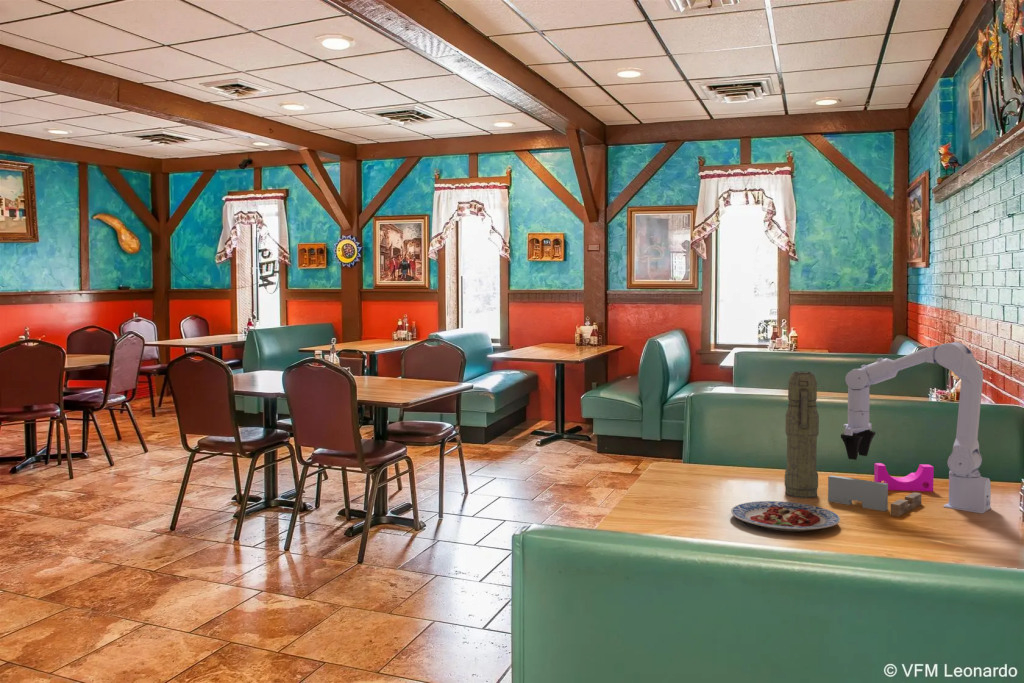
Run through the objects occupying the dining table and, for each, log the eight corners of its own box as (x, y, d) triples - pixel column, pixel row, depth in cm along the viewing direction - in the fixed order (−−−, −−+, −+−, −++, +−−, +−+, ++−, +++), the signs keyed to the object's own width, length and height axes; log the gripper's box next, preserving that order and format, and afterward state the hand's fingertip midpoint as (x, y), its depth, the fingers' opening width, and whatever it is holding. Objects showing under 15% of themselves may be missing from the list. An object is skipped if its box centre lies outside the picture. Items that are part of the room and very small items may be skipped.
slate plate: (887, 509, 211) (888, 483, 210) (884, 511, 209) (885, 484, 209) (831, 500, 221) (831, 475, 221) (827, 501, 220) (828, 476, 219)
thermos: (789, 500, 222) (791, 374, 220) (780, 490, 233) (781, 370, 232) (823, 500, 221) (824, 374, 219) (812, 490, 232) (813, 370, 231)
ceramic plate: (755, 504, 218) (755, 493, 218) (853, 520, 202) (853, 508, 202) (713, 524, 198) (713, 512, 198) (819, 544, 182) (819, 531, 182)
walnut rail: (913, 503, 217) (913, 492, 217) (921, 504, 216) (921, 493, 216) (890, 515, 205) (890, 503, 205) (898, 516, 204) (898, 505, 204)
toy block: (925, 488, 236) (926, 462, 236) (933, 493, 230) (933, 467, 230) (871, 486, 239) (872, 461, 238) (877, 491, 232) (878, 465, 232)
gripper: (854, 406, 238) (854, 452, 239) (834, 411, 228) (833, 459, 229) (879, 408, 233) (878, 455, 234) (859, 414, 223) (858, 462, 224)
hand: (857, 457), depth 231 cm, fingers open, 7 cm apart
